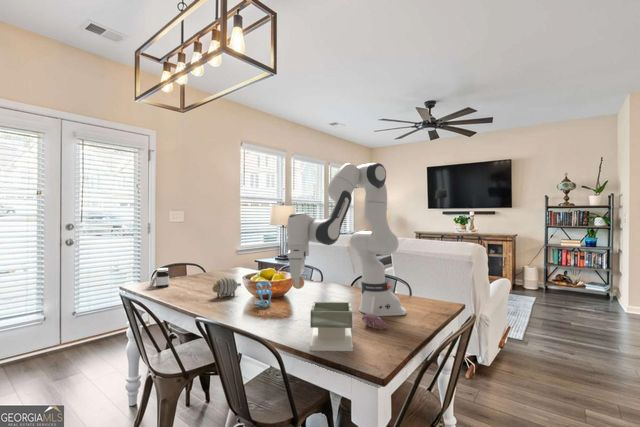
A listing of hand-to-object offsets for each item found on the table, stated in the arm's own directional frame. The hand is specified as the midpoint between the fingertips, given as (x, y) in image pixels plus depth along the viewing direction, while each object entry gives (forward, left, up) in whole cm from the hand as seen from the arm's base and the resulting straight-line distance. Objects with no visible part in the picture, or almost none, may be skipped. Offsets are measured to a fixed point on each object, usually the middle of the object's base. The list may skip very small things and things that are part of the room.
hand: (298, 284), depth 137 cm
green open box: (-14, +6, -11) cm, 19 cm away
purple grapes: (-31, -3, -19) cm, 37 cm away
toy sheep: (+47, -51, -19) cm, 72 cm away
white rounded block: (+100, -75, -19) cm, 126 cm away
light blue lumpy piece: (+22, -35, -19) cm, 45 cm away
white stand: (-14, +5, -18) cm, 24 cm away
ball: (0, 0, +1) cm, 1 cm away
